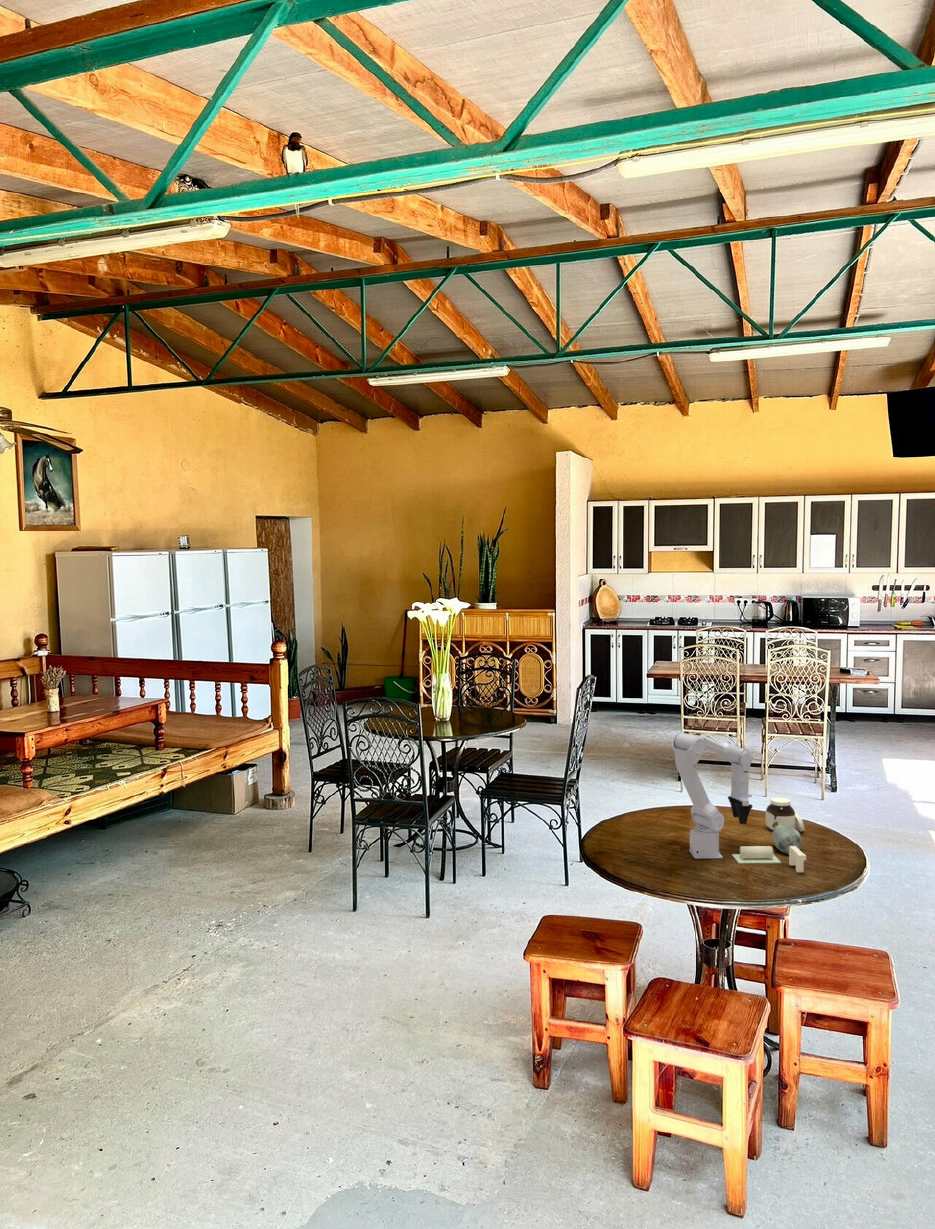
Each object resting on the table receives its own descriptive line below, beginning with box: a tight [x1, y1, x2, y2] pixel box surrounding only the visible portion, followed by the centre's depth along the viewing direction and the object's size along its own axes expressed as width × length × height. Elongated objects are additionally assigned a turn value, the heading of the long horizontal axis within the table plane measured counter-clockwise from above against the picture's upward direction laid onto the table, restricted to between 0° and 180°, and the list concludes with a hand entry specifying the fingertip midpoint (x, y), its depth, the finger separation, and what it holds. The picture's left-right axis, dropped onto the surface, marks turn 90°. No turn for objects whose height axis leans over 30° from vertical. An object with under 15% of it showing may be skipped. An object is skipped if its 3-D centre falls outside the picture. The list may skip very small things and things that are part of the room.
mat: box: [731, 853, 782, 864], centre depth 292 cm, size 14×8×1 cm, turn 89°
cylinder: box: [739, 845, 774, 859], centre depth 292 cm, size 10×4×4 cm, turn 89°
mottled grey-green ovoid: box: [771, 825, 802, 855], centre depth 300 cm, size 14×10×10 cm
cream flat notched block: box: [788, 846, 807, 873], centre depth 281 cm, size 2×9×6 cm, turn 179°
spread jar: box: [765, 796, 806, 833], centre depth 320 cm, size 12×11×12 cm
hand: (739, 820), depth 304 cm, fingers open, 7 cm apart
